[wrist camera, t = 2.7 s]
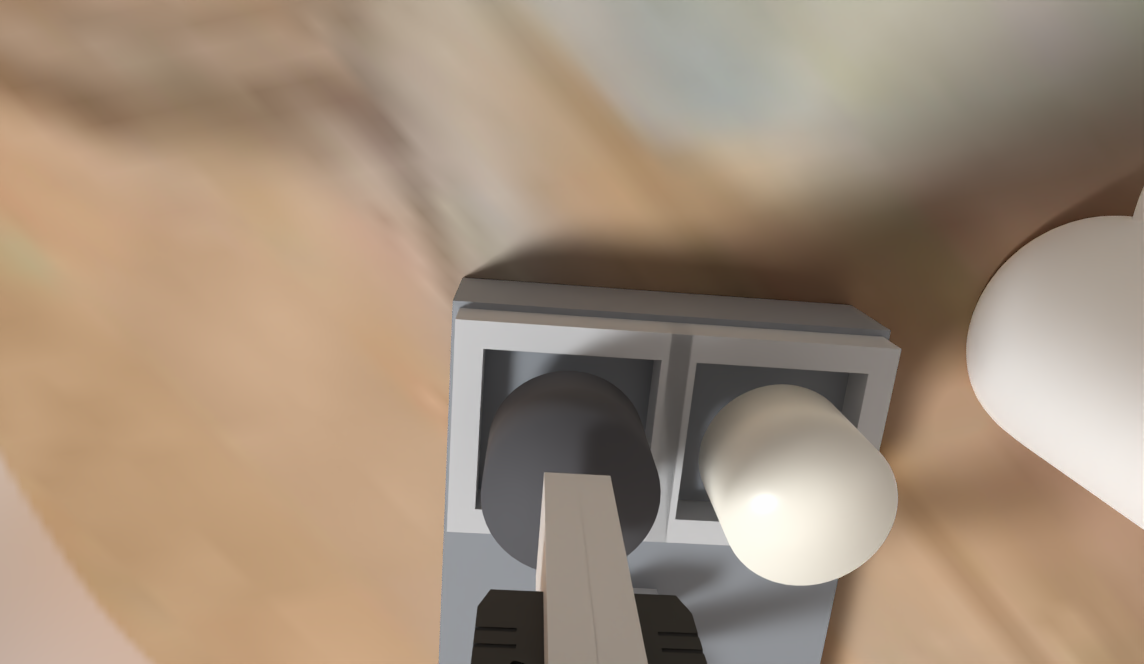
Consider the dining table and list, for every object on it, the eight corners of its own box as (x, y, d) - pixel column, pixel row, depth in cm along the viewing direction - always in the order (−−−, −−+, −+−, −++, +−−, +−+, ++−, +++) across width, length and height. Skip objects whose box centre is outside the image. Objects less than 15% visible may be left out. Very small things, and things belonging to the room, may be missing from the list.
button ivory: (709, 379, 21) (736, 423, 18) (863, 389, 21) (914, 434, 18) (689, 519, 22) (712, 581, 19) (835, 527, 22) (878, 589, 20)
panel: (462, 277, 25) (440, 328, 19) (850, 305, 25) (938, 361, 20) (445, 682, 29) (424, 818, 24) (775, 693, 30) (829, 828, 24)
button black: (492, 365, 21) (485, 408, 18) (652, 375, 21) (670, 419, 18) (484, 509, 22) (476, 571, 19) (635, 517, 22) (650, 578, 19)
